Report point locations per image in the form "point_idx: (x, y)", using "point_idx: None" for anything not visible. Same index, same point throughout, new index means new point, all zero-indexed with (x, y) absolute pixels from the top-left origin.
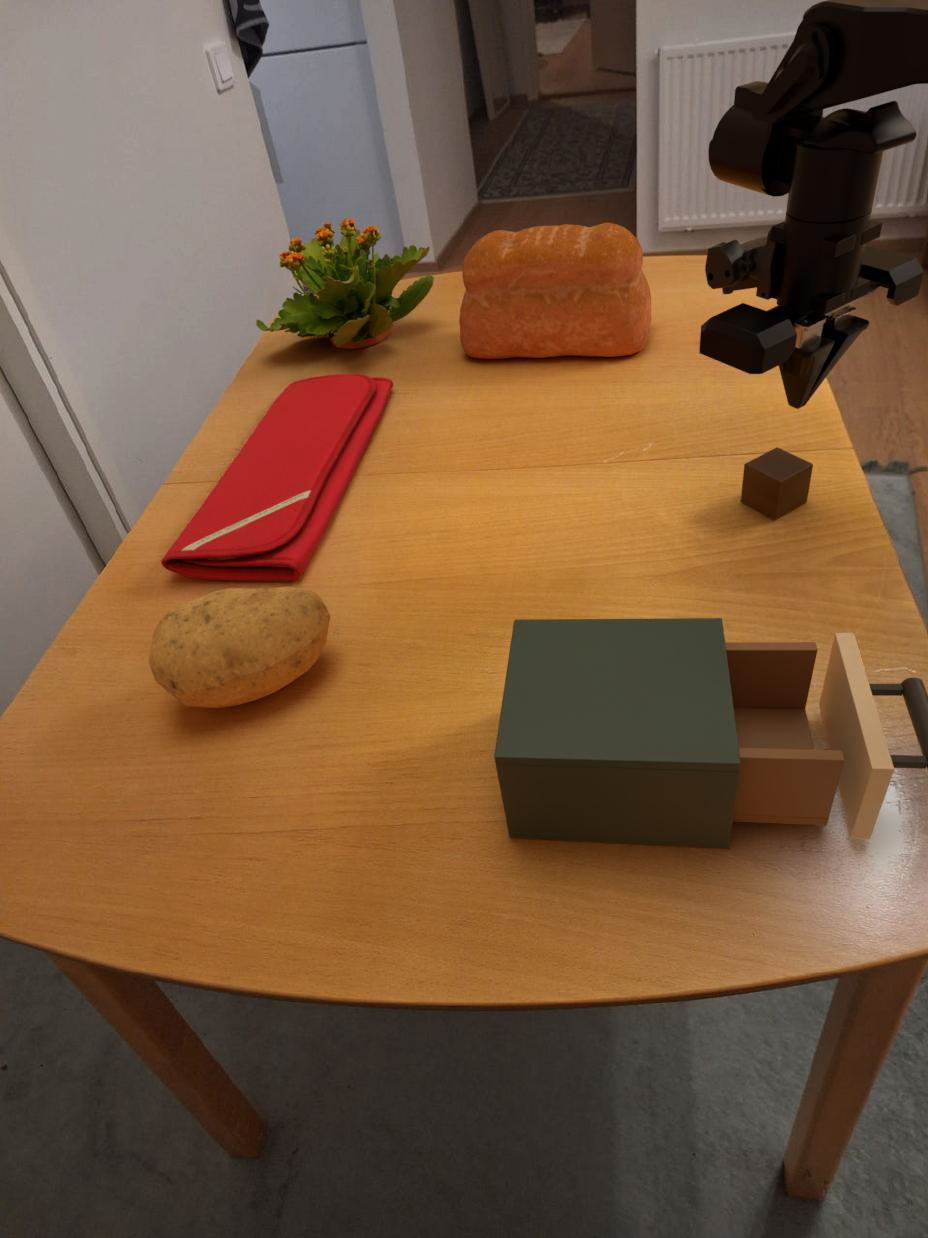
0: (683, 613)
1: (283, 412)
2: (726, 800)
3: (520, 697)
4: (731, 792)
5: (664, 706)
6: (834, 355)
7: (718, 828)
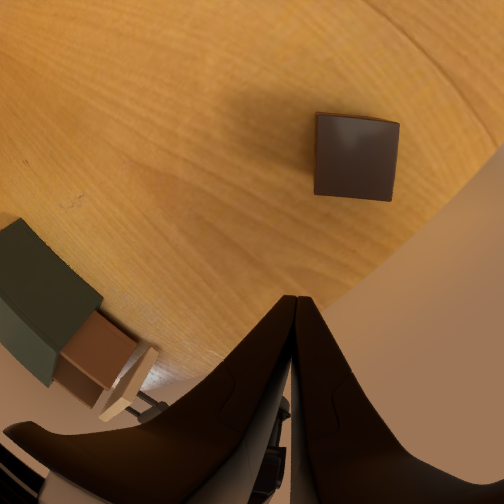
0: (125, 221)
1: None
2: None
3: None
4: None
5: (24, 355)
6: (290, 492)
7: None
